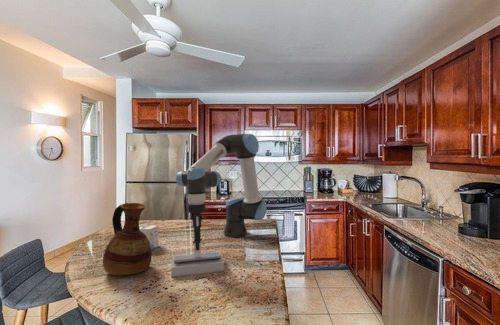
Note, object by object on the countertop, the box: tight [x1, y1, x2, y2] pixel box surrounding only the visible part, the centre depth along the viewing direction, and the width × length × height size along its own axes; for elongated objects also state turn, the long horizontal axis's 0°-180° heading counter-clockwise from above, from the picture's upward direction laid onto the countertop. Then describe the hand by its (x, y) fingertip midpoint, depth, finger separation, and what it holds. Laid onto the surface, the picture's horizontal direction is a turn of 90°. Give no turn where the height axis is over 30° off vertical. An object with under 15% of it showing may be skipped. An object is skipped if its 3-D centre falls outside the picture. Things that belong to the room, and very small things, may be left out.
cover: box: [174, 251, 222, 262], centre depth 121 cm, size 20×8×1 cm, turn 103°
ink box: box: [139, 222, 159, 251], centre depth 151 cm, size 9×8×13 cm
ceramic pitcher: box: [102, 202, 153, 276], centre depth 119 cm, size 20×20×30 cm
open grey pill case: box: [170, 251, 225, 278], centre depth 121 cm, size 22×14×4 cm, turn 103°
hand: (197, 256), depth 119 cm, fingers closed
